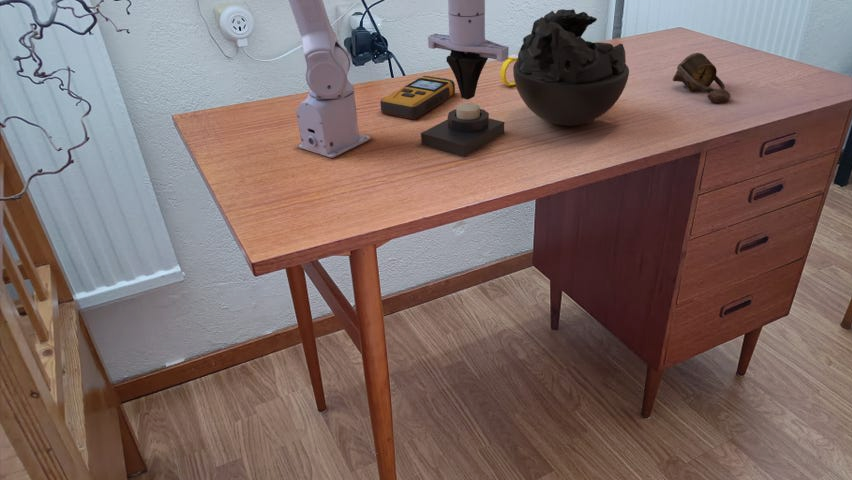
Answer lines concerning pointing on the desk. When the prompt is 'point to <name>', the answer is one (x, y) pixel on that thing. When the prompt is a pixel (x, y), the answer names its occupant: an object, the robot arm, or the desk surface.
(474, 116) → the power button
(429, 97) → the electronic device
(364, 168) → the desk surface
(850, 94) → the desk surface
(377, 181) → the desk surface
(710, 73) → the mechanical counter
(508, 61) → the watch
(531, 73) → the coal bowl
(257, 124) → the desk surface
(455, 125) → the switch box
